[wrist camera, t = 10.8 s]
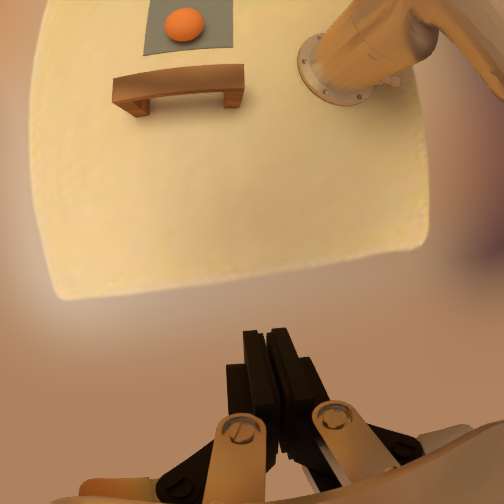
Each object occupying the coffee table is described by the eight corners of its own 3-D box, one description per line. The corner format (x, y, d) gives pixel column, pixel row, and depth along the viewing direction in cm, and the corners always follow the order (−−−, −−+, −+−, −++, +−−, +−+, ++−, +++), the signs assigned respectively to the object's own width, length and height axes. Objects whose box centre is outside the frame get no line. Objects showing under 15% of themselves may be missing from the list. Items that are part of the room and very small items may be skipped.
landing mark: (232, -12, 28) (232, -13, 27) (232, 47, 31) (232, 46, 31) (151, -5, 26) (151, -5, 26) (143, 55, 30) (143, 55, 30)
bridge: (136, 97, 32) (113, 78, 23) (238, 88, 33) (243, 64, 24) (135, 117, 33) (111, 102, 24) (239, 108, 34) (244, 88, 25)
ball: (204, 19, 24) (204, 46, 30) (204, 0, 25) (203, 25, 30) (161, 23, 24) (165, 50, 29) (164, 4, 24) (167, 29, 30)
